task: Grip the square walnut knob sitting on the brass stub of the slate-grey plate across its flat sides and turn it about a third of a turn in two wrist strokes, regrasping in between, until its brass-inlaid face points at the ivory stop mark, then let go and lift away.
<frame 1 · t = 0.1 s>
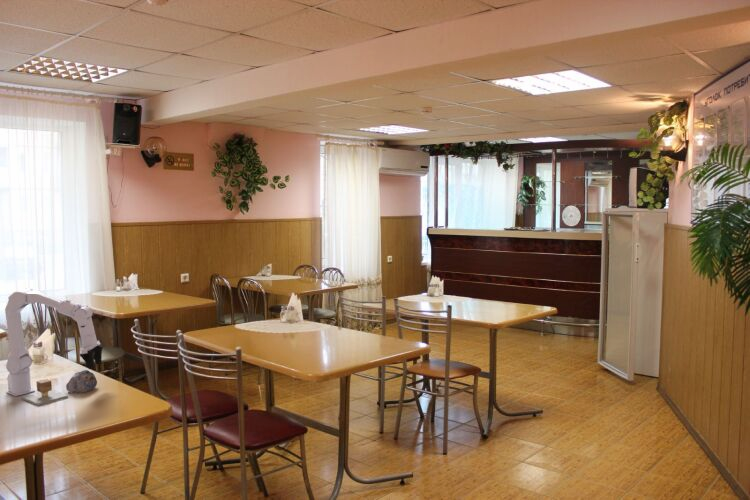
hand: (95, 365, 265), 11 cm above the table, tool pointing down, fingers open, 7 cm apart
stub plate: (45, 398, 256), on the table
rock: (80, 391, 266), on the table
square knob: (44, 385, 255), point 5 cm above the table, hinge at 0.0°
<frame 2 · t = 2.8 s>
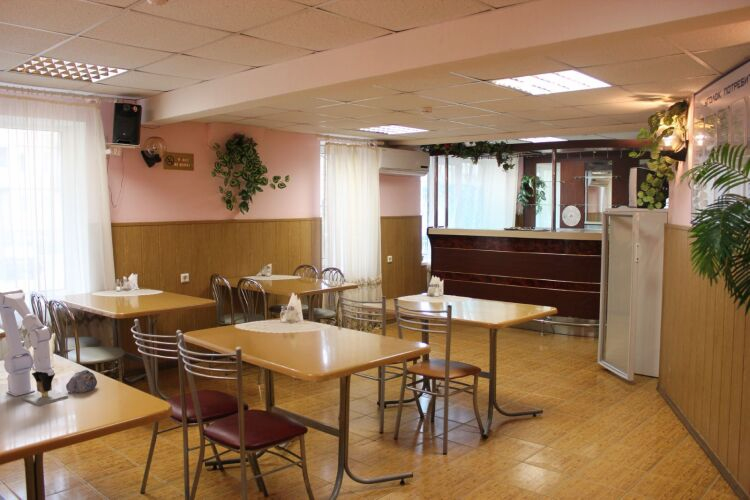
hand: (44, 389, 255), 4 cm above the table, tool pointing down, fingers closed on square knob, 4 cm apart
square knob: (44, 385, 255), point 5 cm above the table, hinge at 0.0°, touching gripper
everything else where it was.
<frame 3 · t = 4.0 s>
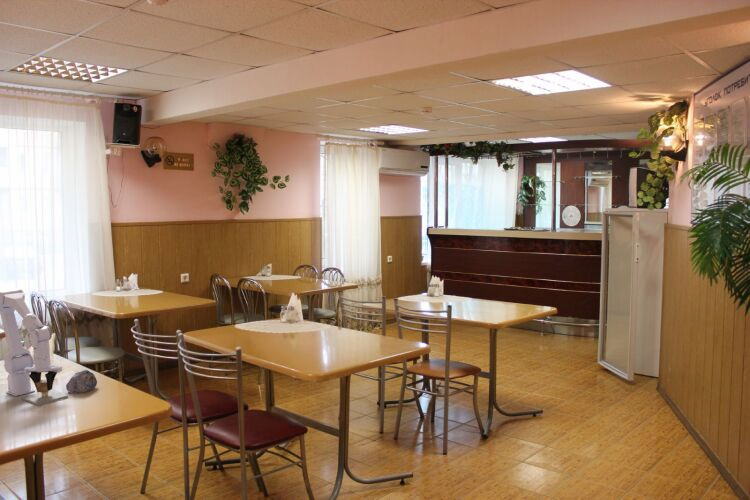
hand: (44, 389, 255), 4 cm above the table, tool pointing down, fingers closed on square knob, 4 cm apart
square knob: (44, 385, 255), point 5 cm above the table, hinge at 36.7°, touching gripper
everything else where it was.
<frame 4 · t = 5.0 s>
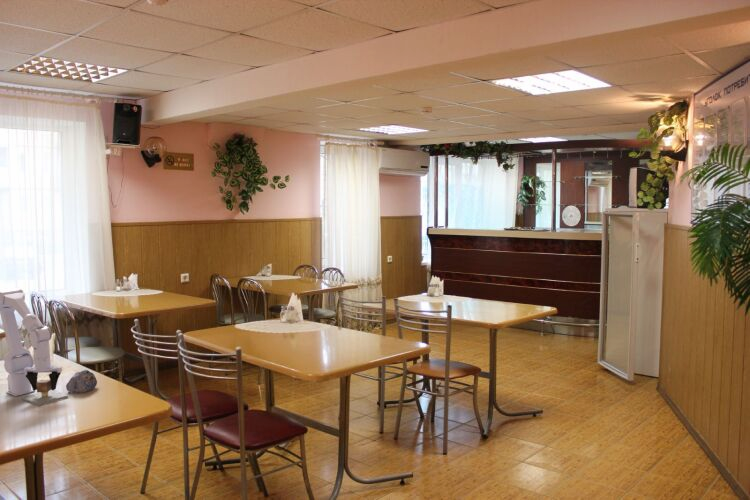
hand: (44, 389, 255), 4 cm above the table, tool pointing down, fingers open, 7 cm apart
square knob: (44, 385, 255), point 5 cm above the table, hinge at 36.7°
everything else where it was.
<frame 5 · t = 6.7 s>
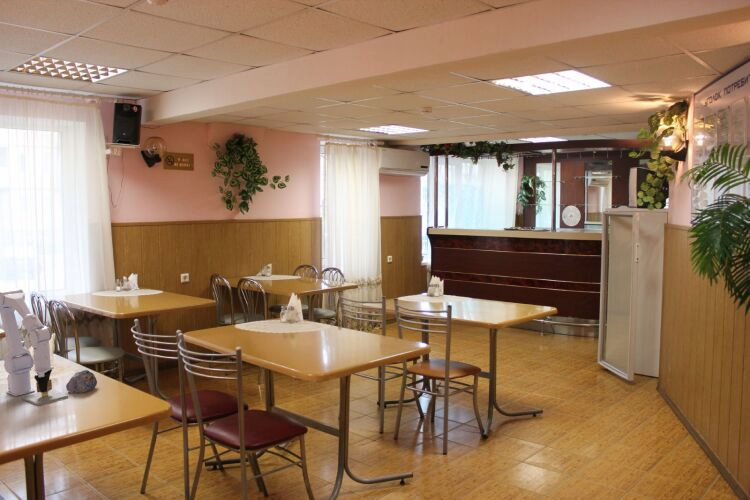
hand: (44, 389, 255), 4 cm above the table, tool pointing down, fingers closed on square knob, 5 cm apart
square knob: (44, 385, 255), point 5 cm above the table, hinge at 36.7°, touching gripper
everything else where it was.
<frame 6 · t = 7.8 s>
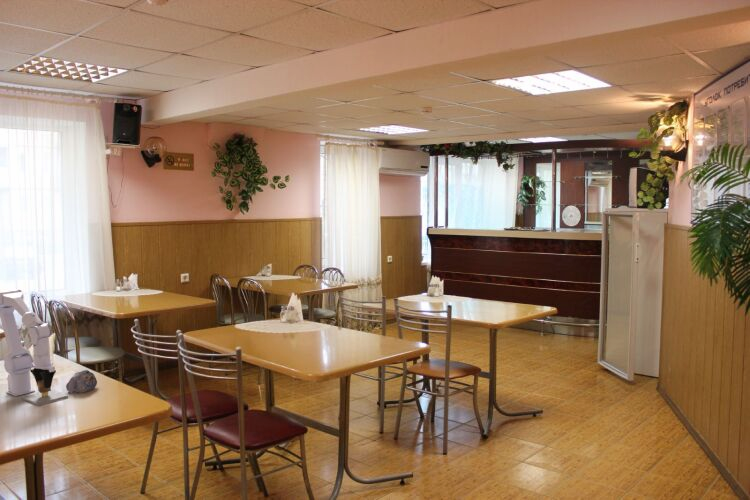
hand: (44, 386, 255), 5 cm above the table, tool pointing down, fingers closed on square knob, 5 cm apart
square knob: (44, 385, 255), point 5 cm above the table, hinge at 74.3°, touching gripper
everything else where it was.
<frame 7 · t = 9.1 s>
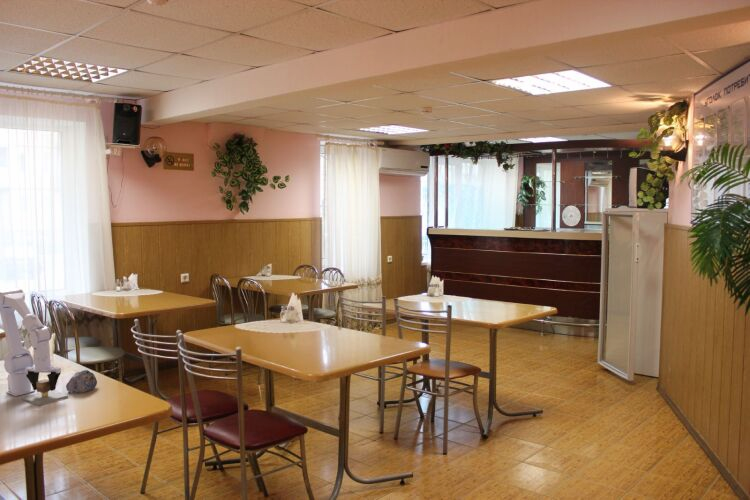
hand: (44, 389, 255), 4 cm above the table, tool pointing down, fingers open, 7 cm apart
square knob: (44, 385, 255), point 5 cm above the table, hinge at 101.5°
everything else where it was.
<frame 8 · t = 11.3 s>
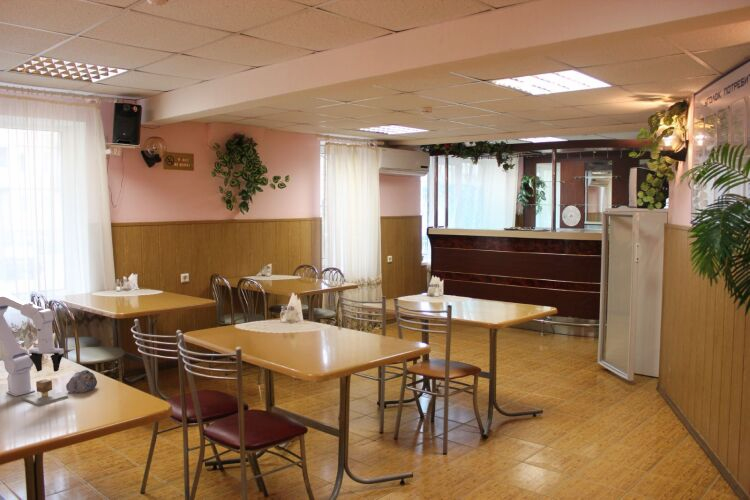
hand: (47, 370, 259), 10 cm above the table, tool pointing down, fingers open, 7 cm apart
nothing on the table moved.
at the end: square knob at +102° (first picture: +0°); the gripper is holding nothing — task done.
